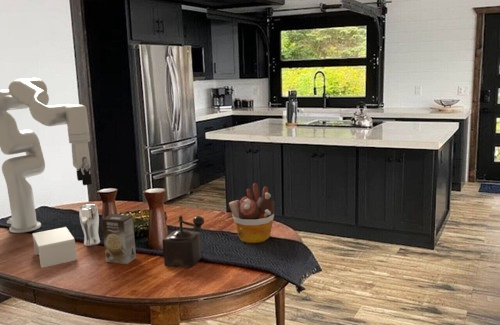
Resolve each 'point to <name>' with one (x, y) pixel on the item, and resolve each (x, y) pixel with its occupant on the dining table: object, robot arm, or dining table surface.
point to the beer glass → (90, 224)
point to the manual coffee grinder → (183, 245)
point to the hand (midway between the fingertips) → (84, 182)
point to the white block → (54, 246)
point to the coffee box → (119, 238)
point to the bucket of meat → (253, 216)
